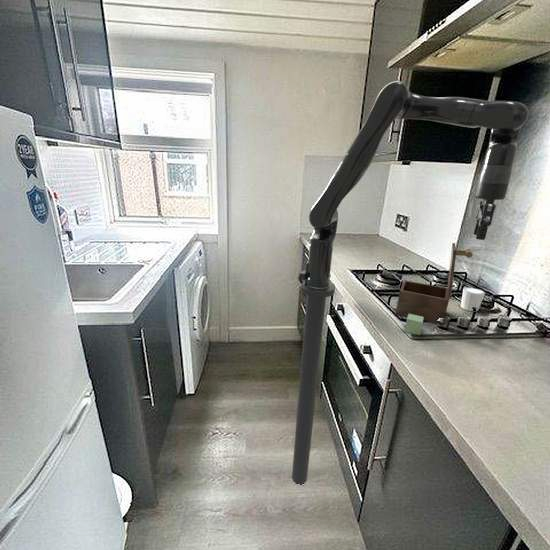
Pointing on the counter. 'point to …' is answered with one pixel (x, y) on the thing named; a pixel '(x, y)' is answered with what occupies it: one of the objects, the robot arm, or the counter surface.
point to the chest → (423, 301)
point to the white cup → (471, 298)
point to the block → (414, 324)
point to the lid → (452, 264)
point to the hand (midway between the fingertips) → (478, 237)
